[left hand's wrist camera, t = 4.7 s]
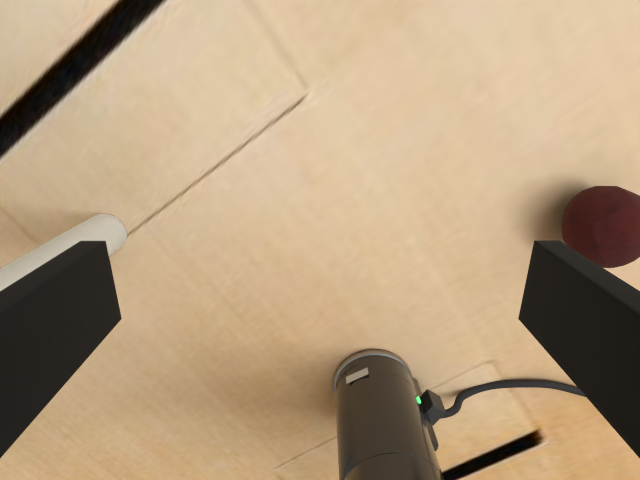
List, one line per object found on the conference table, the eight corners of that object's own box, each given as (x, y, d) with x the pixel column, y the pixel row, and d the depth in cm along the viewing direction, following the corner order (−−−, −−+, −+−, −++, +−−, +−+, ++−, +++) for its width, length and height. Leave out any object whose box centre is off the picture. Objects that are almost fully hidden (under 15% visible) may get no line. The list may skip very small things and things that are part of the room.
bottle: (120, 256, 43) (-33, 384, 24) (82, 240, 42) (-105, 358, 23) (132, 224, 41) (-20, 332, 23) (93, 206, 41) (-96, 303, 22)
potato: (563, 261, 43) (607, 293, 36) (534, 203, 40) (576, 225, 34) (630, 225, 41) (690, 251, 35) (605, 163, 39) (663, 177, 32)
